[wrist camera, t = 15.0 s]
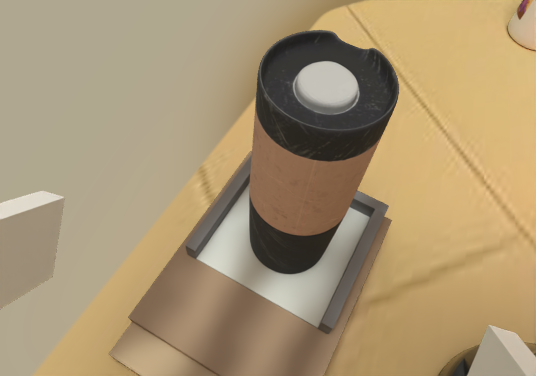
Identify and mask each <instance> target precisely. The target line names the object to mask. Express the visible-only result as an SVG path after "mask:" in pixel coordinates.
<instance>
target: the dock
mask: <svg viewBox="0 0 536 376" xmlns="http://www.w3.org/2000/svg"><path fill="white" fill-rule="evenodd" d="M251 159H252V151H250V152H249V154H248V155H247V156H246V158H245V159H244V160H243V162H242V163H241V164H240V166H239V167H238V169H237V170H236V171H235V173H234V174H233V175H232V177H231V178H230V179H229V181H228V182H227V184H226V185H225V186H224V188H223V189H222V190H221V192H220V193H219V194H218V196H217V197H216V198H215V200H214V201H213V203H212V204H211V205H210V207H209V208H208V209H207V211H206V212H205V213H204V215H203V216H202V218H201V219H200V220H199V222H198V223H197V224H196V226H195V227H194V228H193V230H192V231H191V232H190V234H189V235H188V237H187V238H186V239H185V241H184V242H183V243H182V245H181V246H180V247H179V249H178V250H177V252H176V253H175V254H174V256H173V257H172V258H171V260H170V261H169V262H168V264H167V265H166V266H165V268H164V269H163V271H162V272H161V273H160V275H159V276H158V277H157V279H156V280H155V281H154V283H153V284H152V286H151V287H150V288H149V290H148V291H147V292H146V294H145V295H144V296H143V298H142V299H141V300H140V302H139V303H138V305H137V306H136V307H135V309H134V310H133V311H132V313H131V314H130V315H129V317H128V318H129V319H130V320H131V321H132V322H131V324H130V325H129V327H128V328H127V329H126V331H125V332H124V333H123V335H122V336H121V338H120V339H119V340H118V342H117V343H116V345H115V346H114V347H113V349H112V350H111V351H110V353H109V355H110V356H112V357H113V358H114V359H116V360H118V361H119V362H121V363H122V364H124V365H125V366H127V367H128V368H130V369H131V370H133V371H134V372H136V373H137V374H139V375H140V376H324V373H325V371H326V369H327V367H328V364H329V362H330V360H331V357H332V355H333V353H334V351H335V348H336V346H337V344H338V342H339V339H340V337H341V335H342V333H343V330H344V328H345V326H346V323H347V321H348V319H349V317H350V314H351V312H352V310H353V308H354V305H355V303H356V301H357V299H358V296H359V294H360V292H361V289H362V287H363V285H364V283H365V280H366V278H367V276H368V274H369V271H370V269H371V267H372V264H373V262H374V260H375V258H376V255H377V253H378V251H379V249H380V246H381V244H382V242H383V240H384V237H385V235H386V233H387V230H388V228H389V226H390V224H391V221H392V220H390V219H388V218H386V217H384V215H385V213H386V211H387V209H388V207H389V206H388V205H386V204H384V203H382V202H380V201H378V200H376V199H374V198H372V197H370V196H368V195H366V194H364V193H362V192H359V191H356V194H355V196H354V198H353V200H352V202H351V204H350V207H349V209H348V211H347V213H346V215H345V217H344V218H343V220H342V222H341V224H340V226H339V227H338V229H337V231H336V233H335V235H334V236H333V238H332V240H331V242H330V244H329V245H328V247H327V249H326V251H325V252H324V254H323V256H322V257H321V259H320V260H319V261H318V262H317V263H316V264H315V265H314V266H313V267H312V268H310V269H308V270H306V271H304V272H301V273H297V274H283V273H278V272H275V271H273V270H271V269H269V268H267V267H266V266H265V265H263V264H262V263H261V262H260V261H259V260H258V258H257V257H256V256H255V254H254V252H253V250H252V247H251V243H250V233H249V186H250V173H251Z"/></svg>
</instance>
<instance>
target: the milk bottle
mask: <svg viewBox="0 0 536 376" xmlns="http://www.w3.org/2000/svg"><path fill="white" fill-rule="evenodd" d="M508 32H509V34H510V36H511V37H512V38H513V39H514V40H515V41H516V42H517V43H518V44H520V45H522V46H524V47H526V48H528V49H532V50H536V0H523V1H522V3H521V4H520V6H519V7H518V9H517V10H516V12H515V13H514V15H513V17H512V18H511V20H510V22H509V24H508Z"/></svg>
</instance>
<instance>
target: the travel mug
mask: <svg viewBox="0 0 536 376" xmlns="http://www.w3.org/2000/svg"><path fill="white" fill-rule="evenodd" d="M257 80H258V81H257V93H256V106H255V119H254V133H253V146H252V159H251V173H250V186H249V233H250V243H251V247H252V250H253V252H254V254H255V256H256V257H257V258H258V260H259V261H260V262H261V263H262V264H263V265H265V266H266V267H267V268H269V269H271V270H273V271H275V272H278V273H283V274H297V273H301V272H304V271H306V270H308V269H310V268H312V267H313V266H314V265H315V264H316V263H317V262H318V261H319V260H320V259H321V257H322V256H323V254H324V252H325V251H326V249H327V247H328V245H329V244H330V242H331V240H332V238H333V236H334V235H335V233H336V231H337V229H338V227H339V226H340V224H341V222H342V220H343V218H344V217H345V215H346V213H347V211H348V209H349V207H350V204H351V202H352V200H353V198H354V196H355V194H356V191H357V189H358V187H359V185H360V183H361V180H362V178H363V176H364V174H365V172H366V169H367V167H368V165H369V163H370V161H371V159H372V156H373V154H374V152H375V150H376V148H377V145H378V143H379V141H380V139H381V137H382V134H383V132H384V130H385V128H386V126H387V124H388V121H389V119H390V117H391V115H392V113H393V111H394V108H395V105H396V103H397V100H398V94H399V84H398V78H397V75H396V73H395V71H394V69H393V67H392V65H391V64H390V62H389V61H388V60H387V58H386V57H385V56H384V55H383V54H382V53H381V52H380V51H378V50H377V49H374V48H371V49H361V48H358V47H355V46H352V45H350V44H348V43H345V42H343V41H342V40H340V39H339V38H338V36H337V35H336V34H335V33H334V32H331V31H324V30H313V31H305V32H300V33H296V34H292V35H290V36H287V37H285V38H283V39H281V40H279V41H278V42H276V43H275V44H274V45H273V46H272V47H271V48H270V49H269V50H268V51H267V52H266V54H265V55H264V56H263V58H262V61H261V63H260V66H259V71H258V79H257Z"/></svg>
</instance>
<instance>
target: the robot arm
mask: <svg viewBox="0 0 536 376" xmlns="http://www.w3.org/2000/svg"><path fill="white" fill-rule="evenodd" d="M64 200H65V197H62V196H58V195H55V194H52V193H48V192H45V191H39V192H36V193H33V194H29V195H26V196H23V197H19V198H16V199H12V200H9V201H5V202H2V203H0V309H1V308H3V307H5V306H6V305H8V304H10V303H11V302H13V301H15V300H16V299H18V298H19V297H21V296H23V295H24V294H26V293H27V292H29V291H31V290H32V289H34V288H36V287H37V286H39V285H40V284H42V283H44V282H45V281H47V280H49V279H50V278H52V277H53V271H54V264H55V259H56V252H57V245H58V239H59V232H60V226H61V219H62V213H63V206H64ZM439 376H536V344H531V343H525V342H523V341H522V340H521V339H520V337H519V336H518V335H517V334H516V333H515V332H511V331H508V330H505V329H501V328H498V327H495V326H491V325H488V327H487V330H486V332H485V334H484V337H483V339H482V342H481V344H480V345H478V346H475V347H473V348H470V349H468V350H466V351H463V352H462V353H460V354H458V355H457V356H455V357H454V358H453V359H452V360H451V361H450V362H449V363H448V364H447V365H446V366H445V367H444V368H443V370H442V371H441V373H440V374H439Z"/></svg>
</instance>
